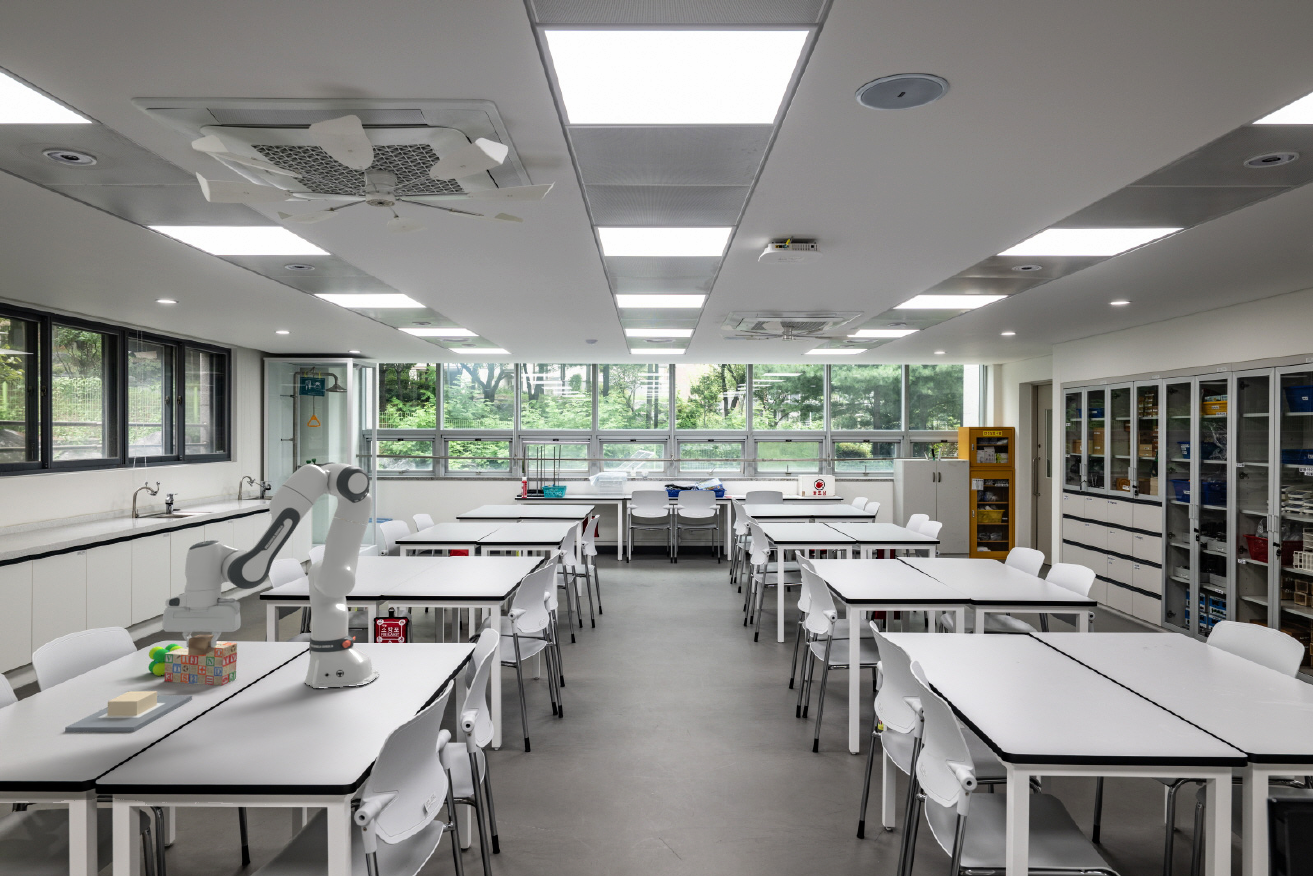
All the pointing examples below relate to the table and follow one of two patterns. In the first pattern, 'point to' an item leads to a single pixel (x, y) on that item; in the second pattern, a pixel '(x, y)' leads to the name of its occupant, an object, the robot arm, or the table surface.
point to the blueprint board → (126, 722)
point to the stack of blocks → (202, 665)
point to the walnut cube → (200, 645)
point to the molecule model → (160, 658)
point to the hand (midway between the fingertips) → (201, 646)
